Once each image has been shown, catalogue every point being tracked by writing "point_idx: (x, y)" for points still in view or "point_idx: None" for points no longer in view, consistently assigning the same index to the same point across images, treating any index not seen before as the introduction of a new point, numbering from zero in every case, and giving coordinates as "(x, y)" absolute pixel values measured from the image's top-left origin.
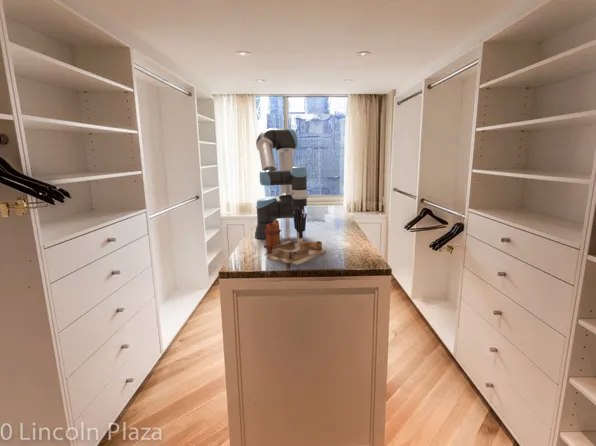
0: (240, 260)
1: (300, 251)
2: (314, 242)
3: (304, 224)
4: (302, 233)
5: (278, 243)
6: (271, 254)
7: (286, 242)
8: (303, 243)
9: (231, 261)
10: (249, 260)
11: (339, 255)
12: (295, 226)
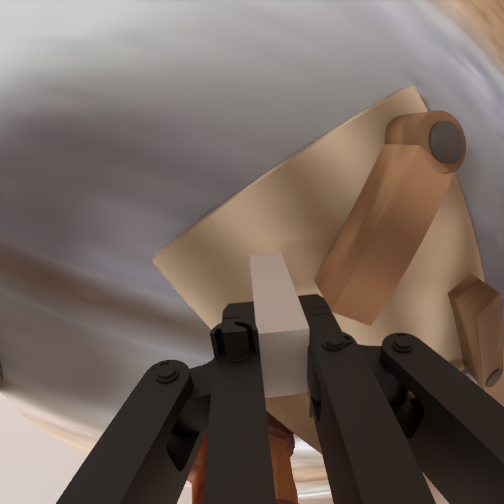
0: (306, 486)
1: (502, 348)
2: (430, 185)
3: (490, 419)
4: (339, 328)
5: (269, 439)
6: None
7: (295, 409)
8: (389, 292)
9: (301, 497)
10: (323, 472)
11: (478, 68)
12: (197, 451)
